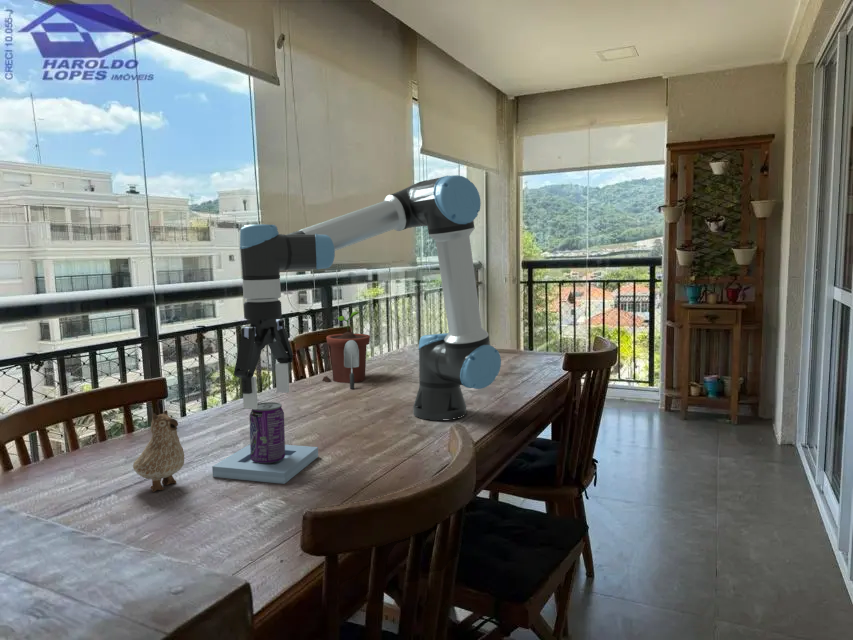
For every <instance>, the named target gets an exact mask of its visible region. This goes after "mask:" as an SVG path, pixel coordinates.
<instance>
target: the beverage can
mask: <svg viewBox="0 0 853 640" xmlns="http://www.w3.org/2000/svg"><path fill="white" fill-rule="evenodd" d="M285 439H286V437H285V412H284V410H283V408H282V403H280V402H274V401H267V402H266V401H264V402H259V403H258V409H250V413H249V444H250V451H251V460H252V461H254V462H256V463H258V464H273V463H276V462H278V461H280V460H281V459H283V458H284V457H285V445H286V442H285Z"/></svg>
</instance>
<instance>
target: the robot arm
mask: <svg viewBox="0 0 853 640" xmlns="http://www.w3.org/2000/svg"><path fill="white" fill-rule="evenodd" d="M481 203H482V202H481V195H480V193H479V190H478V188H477V187H476V186H475V184H474V183H473V182H472V181H470V179H468V178H467V177H464V176H463V175H457V174H456V175H444V176H441V177H437V178H431V179H426V180H423V181H422V180H421V181H418V182H416V183H414V184H411V185H410V186H407V187H406V188H403V189H401V190H399V191H397V192H394V193H390V194H388V195H386V196H385V198H384V199H383V201H380V202H377V203H375V204H371V205H369V206H368V205H367V206H366V207H362V208H360V209H359V208H358V209H357V210H354V211H351V212H348V213H345V214H343V215H339V216H336V217H333V218H331V219H327V220H325V221H323V222H319V223H315V224H313V225H310V226H307V227H304V228H302V229H299V230H296V231H293V232H290V233H287V234H282V233H279V231H278V227H277V225H276V224H265V223H264V224H263V223H262V224H259V223H258V224H257V223H256V224H245V225H243V226H242V227H240V231H239V233H240V234H239V251H240V262H241V263H240V264H241V275H242V277H241V278H242V285H241V288H242V292H243V293H242V294H243V299H244V300H246V301H244V303H243V316H244V319H245V320H247V321H250V323H249V325H250V326H241V328H240V340H239V341H240V342H239V345H238V351H237V356H236V361H235V365H234V370H233V374H234V375H233V376H235V377H236V378H241V386H242V387H241V388H242V391H241V392H242V404H243V409H244V410H252V409H258V390H257V389H258V386H257V384H258V383H257V376H255V375H254V374H255V372H256V368H257V365H258V362H259V359H260V356H261V353H262V350H263V349H265V348H266V346H268V347H269V349H270V351H271V353H272V355H273V356H274V358H275V360H276V363H275V364H274V366H275V384H276V385H275V387H276V393H282V394H283V393H286V394H288V393H290V379H289V378H290V377H289V363H293V360H294V359H293V358H294V353H293V349H292V347H291V344H290V343H291V342H290V340H289V337H288V334H287V330H286V325H285V319H283V318H282V319H281V317H282V315H283V314H282V301H281V300H279V298H281V297H282V290H281V288H282V287H281V275H280V274H281V273H280V272H281V271H297V270H299V271H304V270H317V271H318V270H322V269H324V270H325V269H329V268H330V267H332V266H333V264H334V260H335V256H336V254H335V252H336V251H338V250H341V249H344V248H347V247H348V246H349V247H350V246H352V245H355V244H357V243H360V242H363V241H366V240H368V239H371V238H373V237H377V236H379V235H382V234H385V233H387V232H391V231H393V230H395V231H396V232H401V231H403V230H406V229H411V228H419V227H420V228H421V227H427V231H428V232H427V233H428V237H431V239H433V240H434V241H435V245H436V251H437V258H438V259H437V260H438V266H439V273H440V280H441V285H442V286H441V287H442V293H443V294H442V295H443V301H444V307H445V308H444V309H445V315H446V320H447V321H446V322H447V327H448V328H447V330H448V332H447V333H445V332H443V333H433V334H425V335H422V336H421V337H420V339H419V342H418V354H419V355H418V359H419V360H418V361H419V362H418V365H419V366H418V367H419V368H418V370H419V372H418V375H419V376H418V377H419V382H418V383H419V385H418V390H417V393H416V396H415V399H414V403H413V407H412V410H413V412H412V414H413V416H415V417H416V418H418V417H419V419H422V420H426V419H430V420H429V421H437V420H443V419H453V418H458V417H461V416H463V415H465V414H466V415H467V404H466V401H465V398H464V397H465V396H464V395H463V391H462V389H461V386H462V387H465V388H468V389H475V390H482V389H485V388H487V387H489V386H490V385H492V384H493V383H494V382H495V380H496V378H497V377H498V375H499V373H500V370H501V367H502V358H501V354H500V352H499V351H498V349H497V348H495V346H493V345H491V342H490V335H489V332H488V331H486V330H485V329H484V328H483V326H482V321H481V318H482V317H481V313H480V305H479V303H480V302H479V297H478V290H477V282H476V281H477V280H476V275H475V274H476V273H475V268H474V267H475V266H474V261H473V253H472V246H471V245H472V244H471V238H470V237H471V234H472V233H473V232H474V230H475V222H474V220H476V219H477V217H478V215H479V212H481ZM466 415H465V416H466Z"/></svg>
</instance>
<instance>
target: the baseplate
mask: <svg viewBox="0 0 853 640" xmlns="http://www.w3.org/2000/svg"><path fill="white" fill-rule="evenodd" d="M317 458H319V447H318V446H307V445H295V444H294V445H293V444H285V457H284V458H283V459H281V460H280V461H278V462H276V463H273V464H258V463H256V462H254V461H252V460H251V451H250V443H249V444H247V445H246V446H244V447H242V448H241V449H239V450H237V451H236V452H234V453H232V454H231V455H229V456H228V457H226V458H224V459H222V460H221V461H219V462H216V463H215V464H214V465H212V467H211V468H212V469H211V470H212V477H213V478H221V479H232V480H240V481H241V480H242V481H250V482H262V483H270V484H271V483H272V484H283V485H285V484H286V483H288V482H289V481H290V480H291V479H292V478H294V477H295V476H296V475H297V474H299V473H300V472H301V471H303V469H305V468H306V467H308V466H309V465H310V464H311V463H312V462H313V461H315V460H316V459H317Z"/></svg>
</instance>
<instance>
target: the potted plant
mask: <svg viewBox="0 0 853 640" xmlns="http://www.w3.org/2000/svg"><path fill="white" fill-rule="evenodd" d="M359 313H360V312H359V311H353V312H351V315H350V317H348V319H346V318H345V316H344V315H341V316H340V315H339V316H338V317H337V319H338V321H340V322H344V321H345V322H346V323H347V324H346V325H347V330H346V331H345V332H344V333H336V334H329V335H327V336H326V343H327V346H329V347H330V348H329V349H330V357H331V370H332V372H331V373H332V380H331V379H330V377H328V376H327V375H325V376H323V378H322V380H321V381H322V382H325V383H331V382H332V381H333V382H336V383H342V384H343V383H344V384H349V389H350V390H353V389H355V383H360V382H363V381H365V380H366V366H367V364H366V362H367V346H368V345H370V341H371V335H369V334H366V333H354V332H351V331H350V327H349V326H350V325H349V320H350V319H352V318H353V317H355V316H356V315H358V314H359Z"/></svg>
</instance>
